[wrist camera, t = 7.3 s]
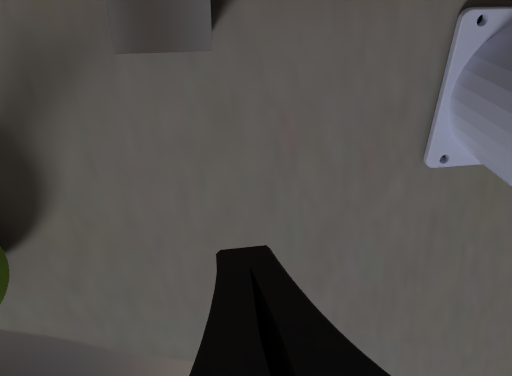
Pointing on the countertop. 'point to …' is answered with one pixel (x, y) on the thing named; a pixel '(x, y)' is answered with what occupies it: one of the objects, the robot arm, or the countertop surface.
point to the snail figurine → (3, 274)
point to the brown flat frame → (160, 25)
